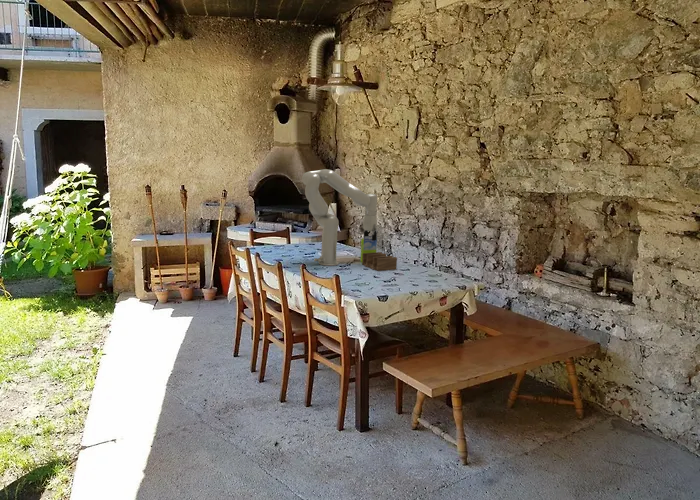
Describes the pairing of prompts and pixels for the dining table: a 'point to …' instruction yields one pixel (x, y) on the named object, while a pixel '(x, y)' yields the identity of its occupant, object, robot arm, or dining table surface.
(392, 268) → the rack
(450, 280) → the dining table surface
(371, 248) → the box
